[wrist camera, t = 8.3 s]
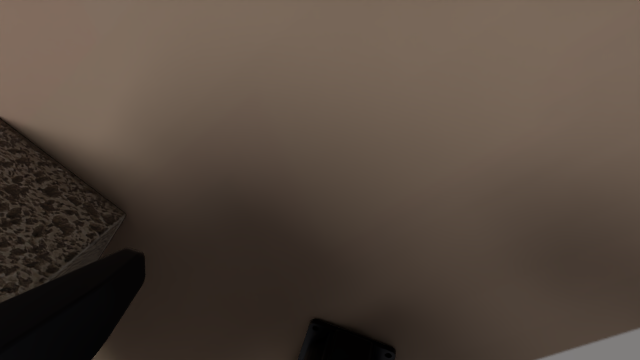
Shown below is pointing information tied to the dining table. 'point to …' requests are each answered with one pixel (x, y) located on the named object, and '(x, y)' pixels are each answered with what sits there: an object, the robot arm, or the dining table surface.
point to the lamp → (46, 217)
